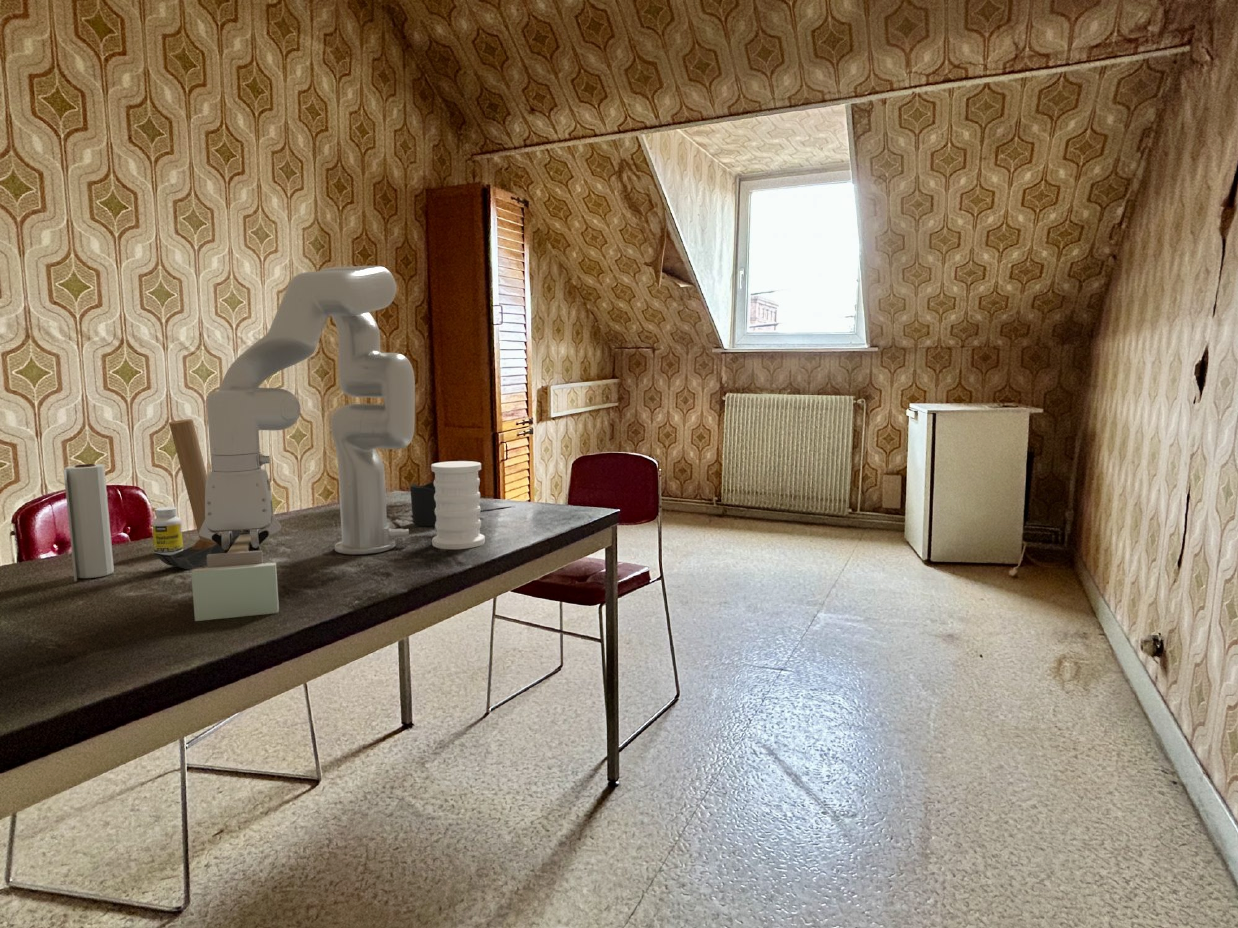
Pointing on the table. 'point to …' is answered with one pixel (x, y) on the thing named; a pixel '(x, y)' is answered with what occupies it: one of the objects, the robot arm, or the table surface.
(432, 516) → the pen holder
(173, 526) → the supplement bottle
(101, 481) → the paper towel roll
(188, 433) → the hammer
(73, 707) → the table surface
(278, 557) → the table surface
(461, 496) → the decorative container
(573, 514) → the table surface
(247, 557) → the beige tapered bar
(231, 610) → the tile
